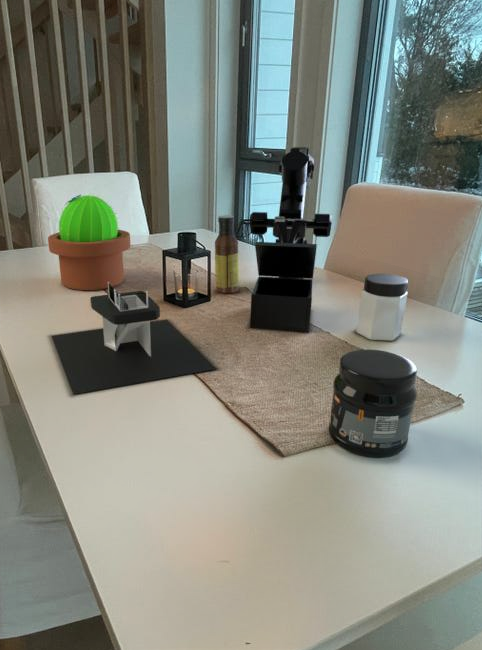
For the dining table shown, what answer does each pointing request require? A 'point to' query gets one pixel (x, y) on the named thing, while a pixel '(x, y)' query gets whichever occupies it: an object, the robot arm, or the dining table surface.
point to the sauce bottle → (226, 257)
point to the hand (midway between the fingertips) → (286, 254)
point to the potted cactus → (89, 245)
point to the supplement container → (373, 403)
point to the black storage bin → (281, 304)
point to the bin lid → (285, 259)
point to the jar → (382, 307)
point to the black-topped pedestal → (126, 346)
